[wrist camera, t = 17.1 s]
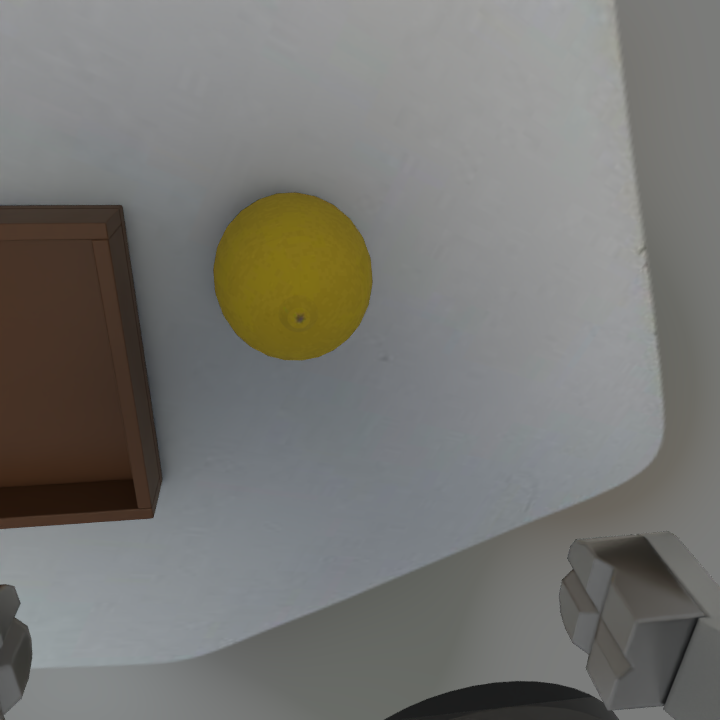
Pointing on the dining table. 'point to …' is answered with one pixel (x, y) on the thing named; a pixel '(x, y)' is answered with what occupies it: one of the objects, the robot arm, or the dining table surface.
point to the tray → (72, 371)
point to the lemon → (293, 276)
